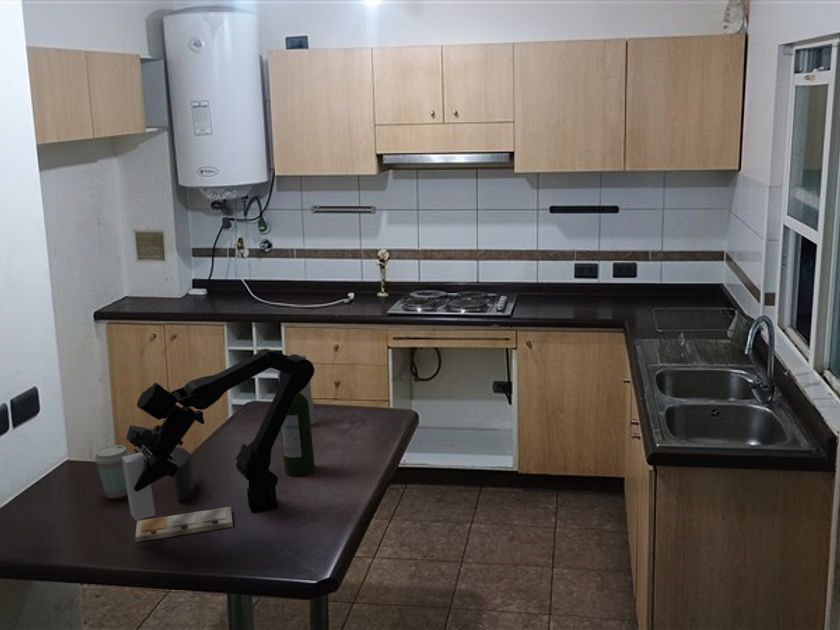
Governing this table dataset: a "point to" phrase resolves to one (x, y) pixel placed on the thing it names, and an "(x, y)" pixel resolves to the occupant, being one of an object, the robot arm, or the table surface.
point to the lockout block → (139, 500)
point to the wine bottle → (298, 439)
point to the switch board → (183, 524)
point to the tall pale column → (307, 393)
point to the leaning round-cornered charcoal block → (183, 473)
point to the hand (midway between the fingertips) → (132, 487)
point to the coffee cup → (112, 470)
